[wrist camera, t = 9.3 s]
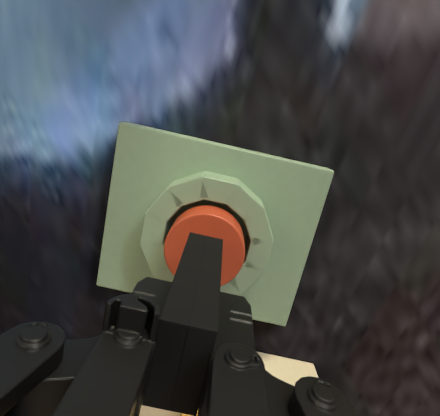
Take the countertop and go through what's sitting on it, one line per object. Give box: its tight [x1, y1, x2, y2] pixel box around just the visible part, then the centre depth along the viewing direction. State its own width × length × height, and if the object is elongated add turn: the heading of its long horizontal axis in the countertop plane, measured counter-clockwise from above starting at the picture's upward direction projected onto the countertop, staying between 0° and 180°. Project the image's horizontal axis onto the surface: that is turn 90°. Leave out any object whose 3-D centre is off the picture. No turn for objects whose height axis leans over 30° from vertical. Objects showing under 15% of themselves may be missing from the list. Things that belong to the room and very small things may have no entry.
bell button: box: [164, 205, 245, 286], centre depth 17 cm, size 4×4×2 cm
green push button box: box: [96, 122, 334, 326], centre depth 19 cm, size 12×10×3 cm
